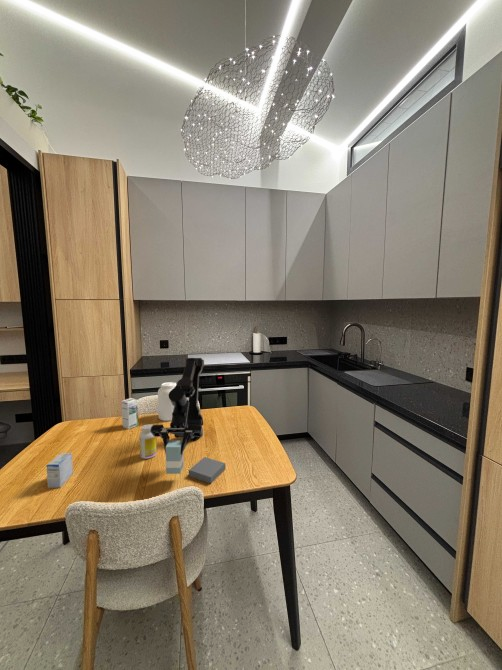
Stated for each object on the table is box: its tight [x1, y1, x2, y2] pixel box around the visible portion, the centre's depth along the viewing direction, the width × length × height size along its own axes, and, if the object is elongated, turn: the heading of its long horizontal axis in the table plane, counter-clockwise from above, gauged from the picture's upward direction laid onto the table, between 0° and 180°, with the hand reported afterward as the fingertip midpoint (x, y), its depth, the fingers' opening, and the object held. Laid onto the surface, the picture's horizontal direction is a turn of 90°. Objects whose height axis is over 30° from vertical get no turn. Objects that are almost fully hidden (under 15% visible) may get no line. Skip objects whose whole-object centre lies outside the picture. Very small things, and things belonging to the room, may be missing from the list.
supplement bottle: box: [138, 423, 157, 460], centre depth 116 cm, size 7×7×13 cm
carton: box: [165, 439, 184, 475], centre depth 99 cm, size 5×5×10 cm
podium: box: [188, 456, 227, 484], centre depth 105 cm, size 10×10×2 cm
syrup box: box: [121, 397, 139, 430], centre depth 145 cm, size 6×6×14 cm
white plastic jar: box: [157, 381, 177, 422], centre depth 157 cm, size 12×12×20 cm
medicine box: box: [46, 452, 74, 489], centre depth 99 cm, size 8×4×9 cm, turn 5°
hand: (173, 454), depth 98 cm, fingers closed on carton, 5 cm apart
